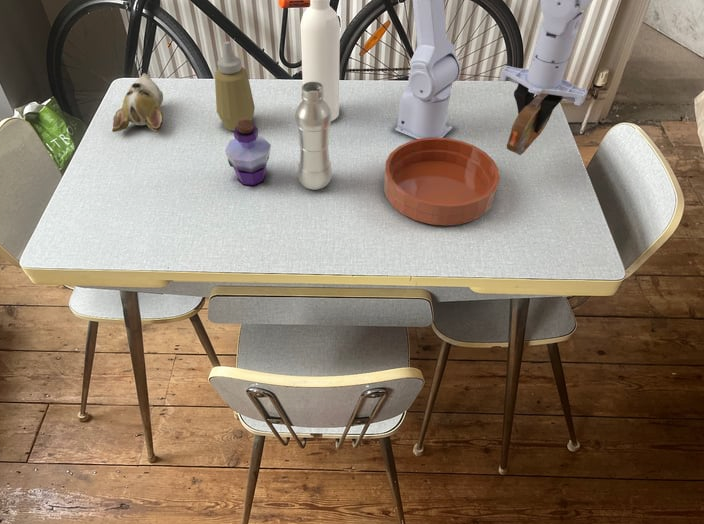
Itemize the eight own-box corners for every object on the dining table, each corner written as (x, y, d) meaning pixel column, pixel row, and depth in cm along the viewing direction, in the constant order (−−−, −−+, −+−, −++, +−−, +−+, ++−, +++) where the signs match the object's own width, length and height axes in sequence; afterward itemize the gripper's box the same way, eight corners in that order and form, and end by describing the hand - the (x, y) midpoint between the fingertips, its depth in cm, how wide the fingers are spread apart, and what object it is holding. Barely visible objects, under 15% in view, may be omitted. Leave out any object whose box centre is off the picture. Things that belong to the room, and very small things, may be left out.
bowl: (362, 198, 107) (363, 176, 103) (419, 147, 117) (422, 125, 114) (459, 243, 98) (464, 222, 95) (512, 184, 109) (518, 162, 105)
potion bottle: (227, 167, 114) (218, 113, 105) (270, 161, 115) (265, 107, 106) (232, 194, 108) (223, 140, 99) (277, 188, 109) (272, 133, 100)
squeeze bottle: (264, 120, 125) (256, 39, 111) (241, 139, 120) (230, 56, 107) (234, 110, 128) (223, 29, 114) (211, 128, 123) (196, 45, 110)
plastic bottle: (336, 176, 111) (337, 80, 96) (325, 197, 107) (324, 100, 92) (305, 169, 113) (301, 74, 98) (293, 190, 109) (287, 94, 94)
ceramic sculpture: (167, 65, 123) (152, 106, 114) (176, 101, 130) (163, 142, 121) (118, 66, 124) (100, 107, 115) (129, 101, 131) (113, 142, 121)
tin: (514, 163, 103) (530, 123, 96) (498, 155, 104) (513, 116, 97) (548, 125, 110) (565, 86, 104) (533, 119, 112) (549, 79, 105)
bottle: (327, 100, 130) (326, -45, 107) (346, 116, 125) (349, -32, 103) (296, 111, 127) (289, -36, 105) (315, 128, 123) (311, -22, 100)
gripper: (499, 52, 95) (483, 123, 105) (585, 78, 89) (559, 151, 99) (518, 36, 99) (500, 107, 109) (601, 60, 93) (574, 133, 103)
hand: (529, 127), depth 104 cm, fingers closed on tin, 2 cm apart
